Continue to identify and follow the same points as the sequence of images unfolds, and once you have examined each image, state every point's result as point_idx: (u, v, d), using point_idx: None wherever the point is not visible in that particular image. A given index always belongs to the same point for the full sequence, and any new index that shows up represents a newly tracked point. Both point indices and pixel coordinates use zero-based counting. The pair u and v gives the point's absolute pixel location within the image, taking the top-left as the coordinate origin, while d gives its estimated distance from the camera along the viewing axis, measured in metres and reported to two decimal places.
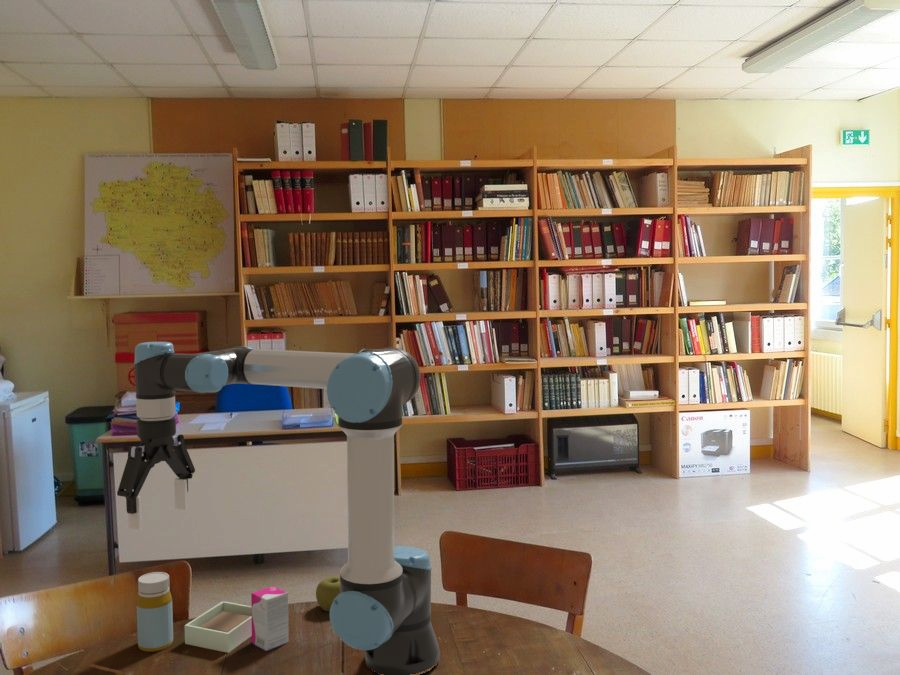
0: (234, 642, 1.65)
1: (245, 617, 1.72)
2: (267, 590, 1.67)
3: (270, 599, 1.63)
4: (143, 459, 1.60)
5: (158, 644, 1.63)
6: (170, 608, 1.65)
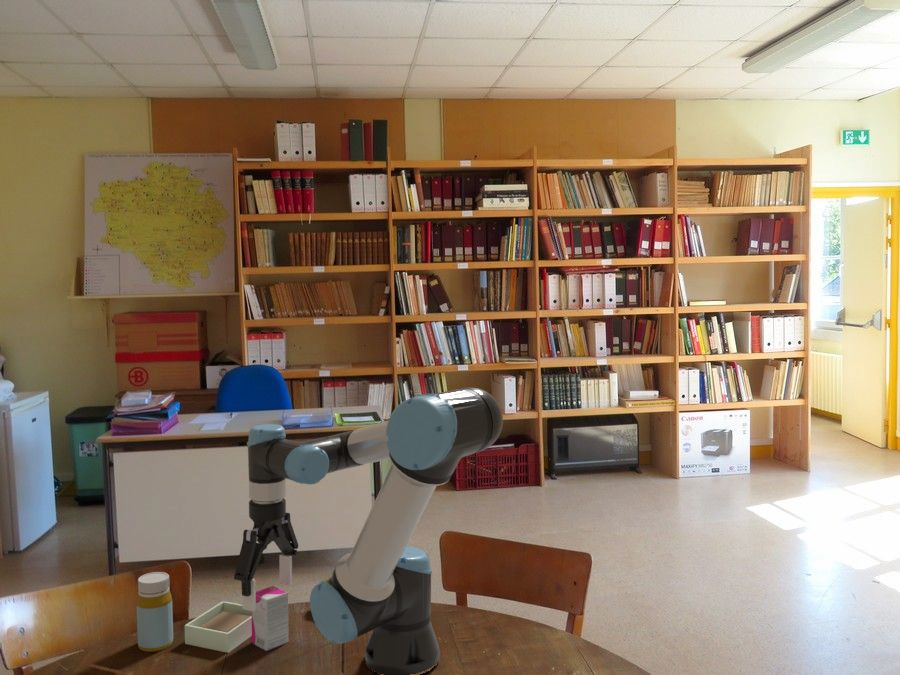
0: (234, 642, 1.65)
1: (245, 617, 1.72)
2: (267, 590, 1.67)
3: (270, 599, 1.63)
4: None
5: (158, 644, 1.63)
6: (170, 608, 1.65)
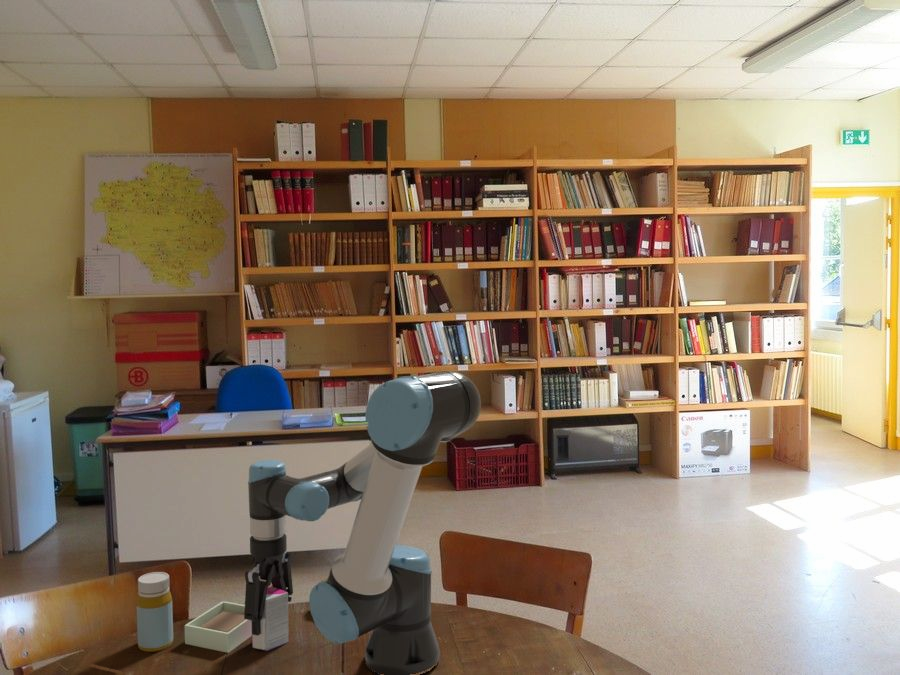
0: (234, 642, 1.65)
1: None
2: (267, 590, 1.67)
3: (270, 599, 1.63)
4: None
5: (158, 644, 1.63)
6: (170, 608, 1.65)
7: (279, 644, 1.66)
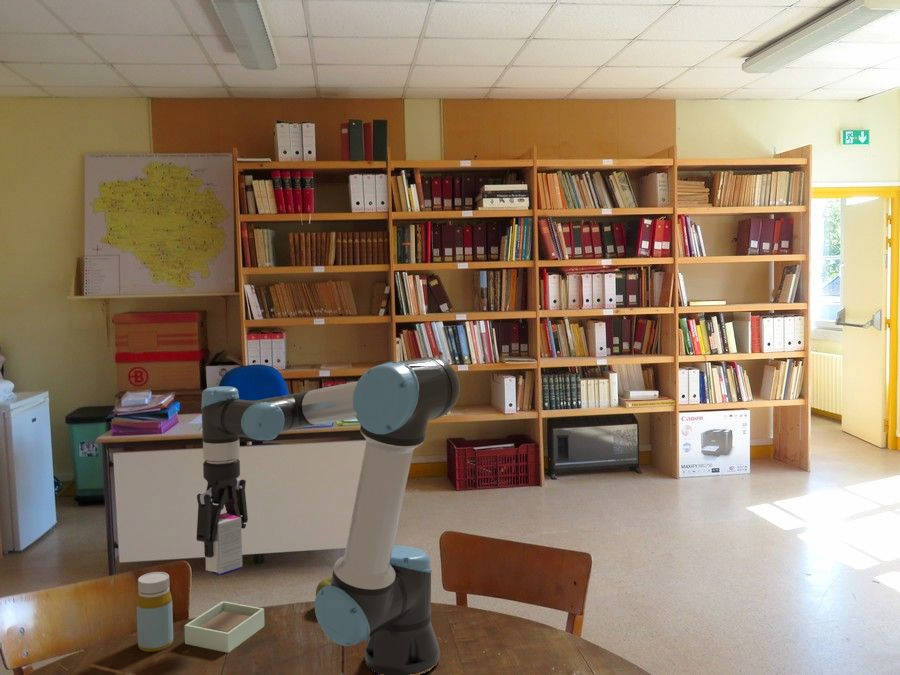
0: (234, 642, 1.65)
1: (245, 617, 1.72)
2: (220, 516, 1.69)
3: (222, 523, 1.65)
4: (211, 501, 1.67)
5: (158, 644, 1.63)
6: (170, 608, 1.65)
7: (233, 568, 1.68)
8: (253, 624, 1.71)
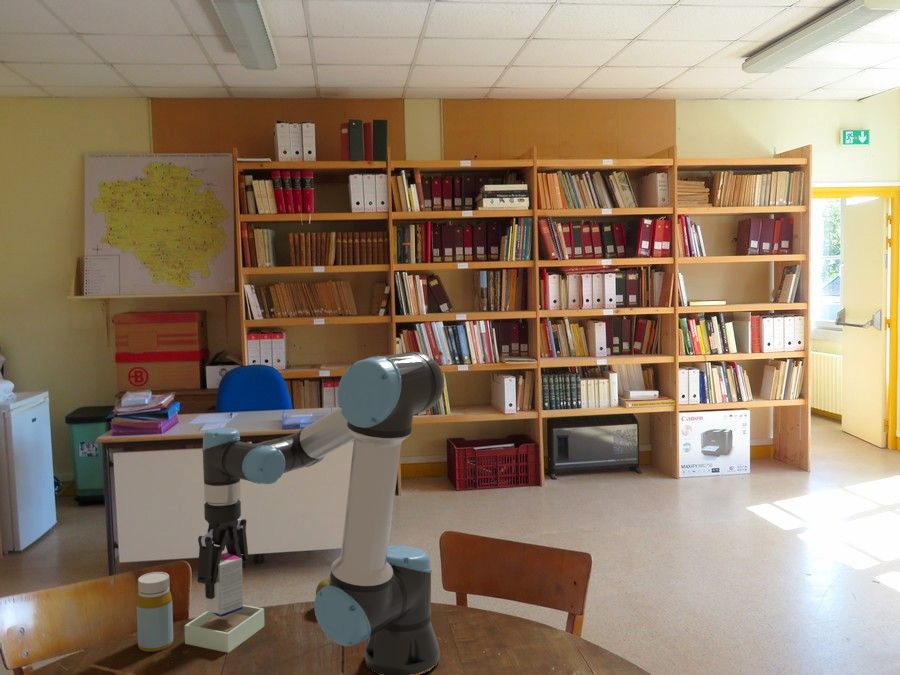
0: (234, 642, 1.65)
1: (245, 617, 1.72)
2: (221, 556, 1.70)
3: (223, 565, 1.66)
4: (212, 542, 1.67)
5: (158, 644, 1.63)
6: (170, 608, 1.65)
7: (233, 608, 1.69)
8: (253, 624, 1.71)
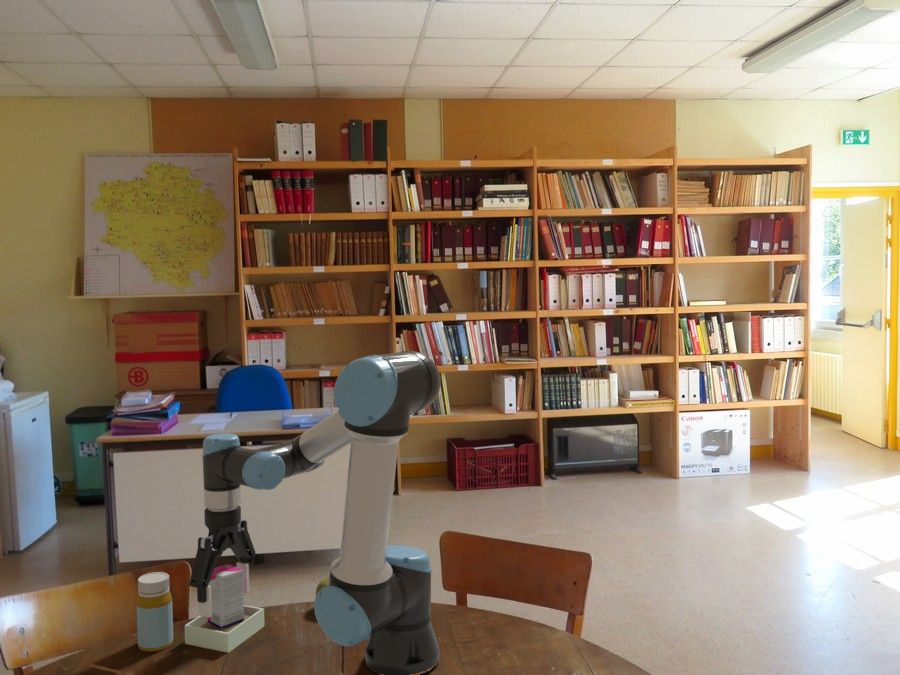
0: (234, 642, 1.65)
1: (245, 617, 1.72)
2: (222, 568, 1.71)
3: (225, 576, 1.66)
4: (211, 547, 1.67)
5: (158, 644, 1.63)
6: (170, 608, 1.65)
7: (235, 620, 1.69)
8: (253, 624, 1.71)
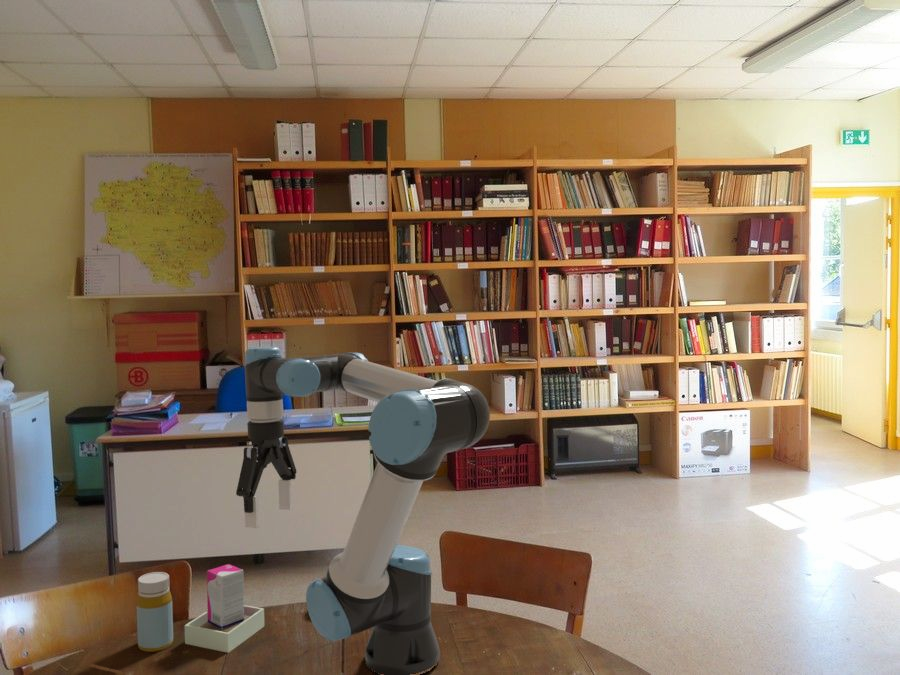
0: (234, 642, 1.65)
1: (245, 617, 1.72)
2: (222, 568, 1.71)
3: (225, 576, 1.66)
4: None
5: (158, 644, 1.63)
6: (170, 608, 1.65)
7: (235, 620, 1.69)
8: (253, 624, 1.71)
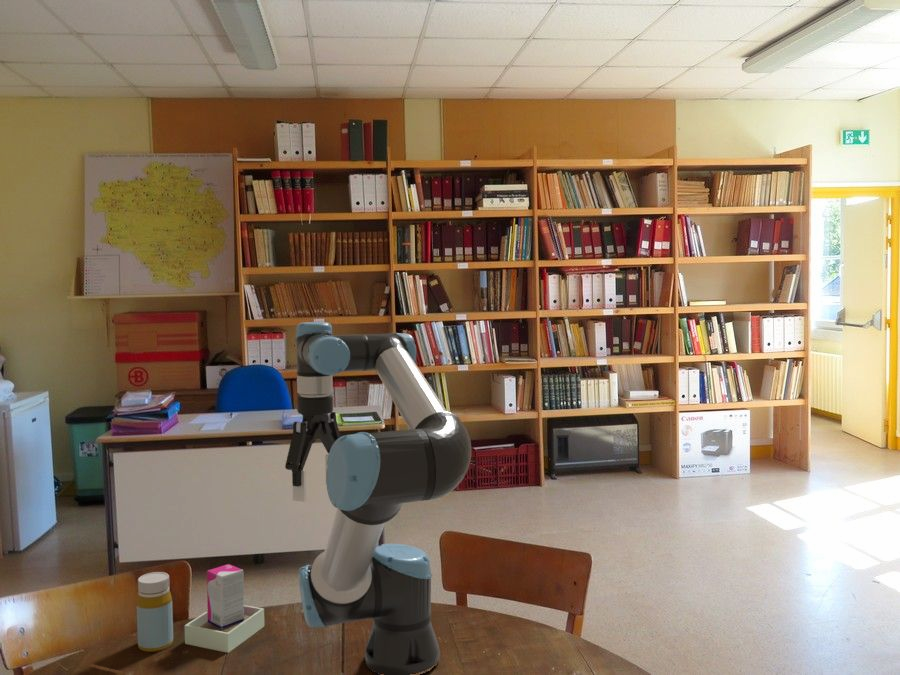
0: (234, 642, 1.65)
1: (245, 617, 1.72)
2: (222, 568, 1.71)
3: (225, 576, 1.66)
4: None
5: (158, 644, 1.63)
6: (170, 608, 1.65)
7: (235, 620, 1.69)
8: (253, 624, 1.71)
